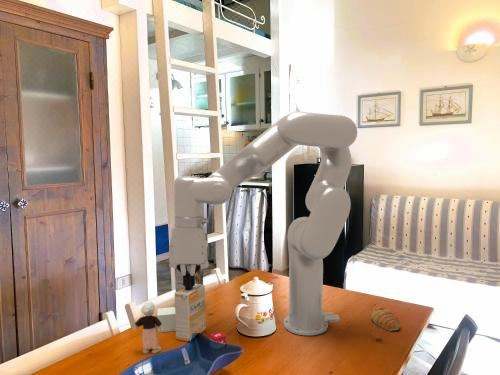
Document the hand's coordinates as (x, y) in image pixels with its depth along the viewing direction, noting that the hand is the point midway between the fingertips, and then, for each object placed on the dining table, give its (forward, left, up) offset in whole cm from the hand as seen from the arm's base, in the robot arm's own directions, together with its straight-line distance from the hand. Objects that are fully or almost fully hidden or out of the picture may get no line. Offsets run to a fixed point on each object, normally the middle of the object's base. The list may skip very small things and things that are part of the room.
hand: (189, 288), depth 102 cm
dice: (-8, +6, -14) cm, 17 cm away
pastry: (-56, -8, -14) cm, 59 cm away
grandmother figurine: (+9, +9, -13) cm, 18 cm away
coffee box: (+4, -18, -13) cm, 23 cm away
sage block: (+8, -4, -13) cm, 16 cm away
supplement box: (0, 0, -13) cm, 13 cm away
